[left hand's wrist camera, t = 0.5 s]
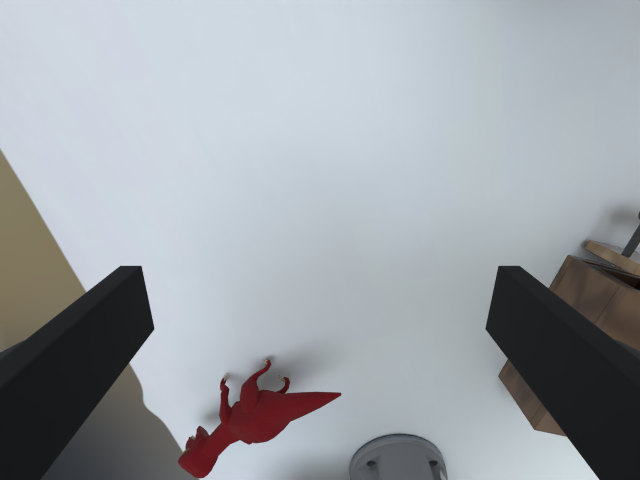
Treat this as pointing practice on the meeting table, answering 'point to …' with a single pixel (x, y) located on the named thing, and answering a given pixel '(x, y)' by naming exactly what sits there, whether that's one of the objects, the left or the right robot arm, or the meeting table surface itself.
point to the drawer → (620, 260)
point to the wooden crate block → (598, 307)
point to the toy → (249, 420)
